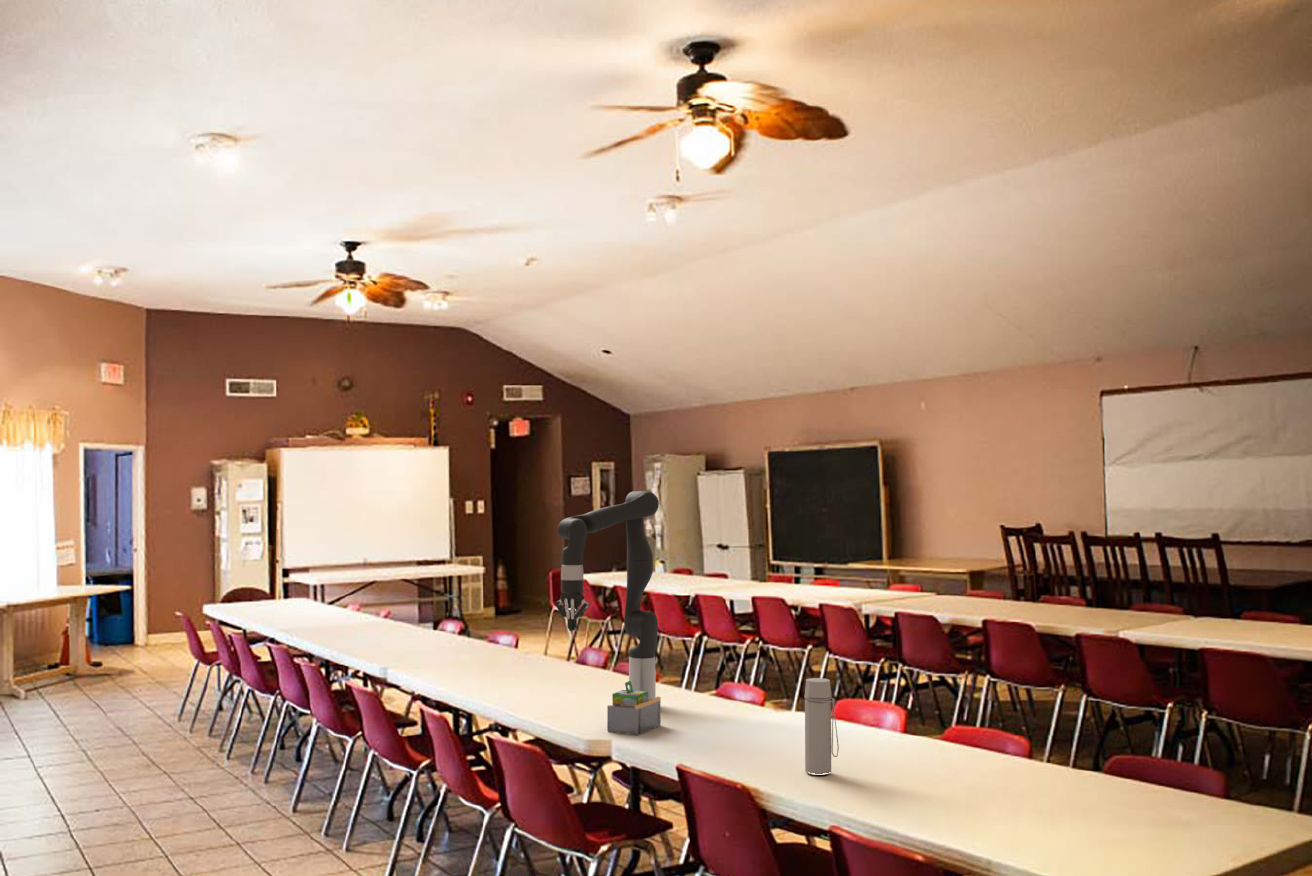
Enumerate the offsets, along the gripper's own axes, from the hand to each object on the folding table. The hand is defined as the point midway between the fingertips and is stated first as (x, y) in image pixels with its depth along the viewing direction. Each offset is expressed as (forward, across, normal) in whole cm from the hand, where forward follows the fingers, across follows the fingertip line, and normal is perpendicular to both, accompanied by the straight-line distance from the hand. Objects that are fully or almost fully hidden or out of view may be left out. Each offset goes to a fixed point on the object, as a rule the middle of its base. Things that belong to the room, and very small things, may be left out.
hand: (572, 630), depth 383 cm
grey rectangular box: (+29, -27, +6) cm, 40 cm away
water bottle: (+29, -98, +34) cm, 108 cm away
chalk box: (+29, -26, +6) cm, 39 cm away
